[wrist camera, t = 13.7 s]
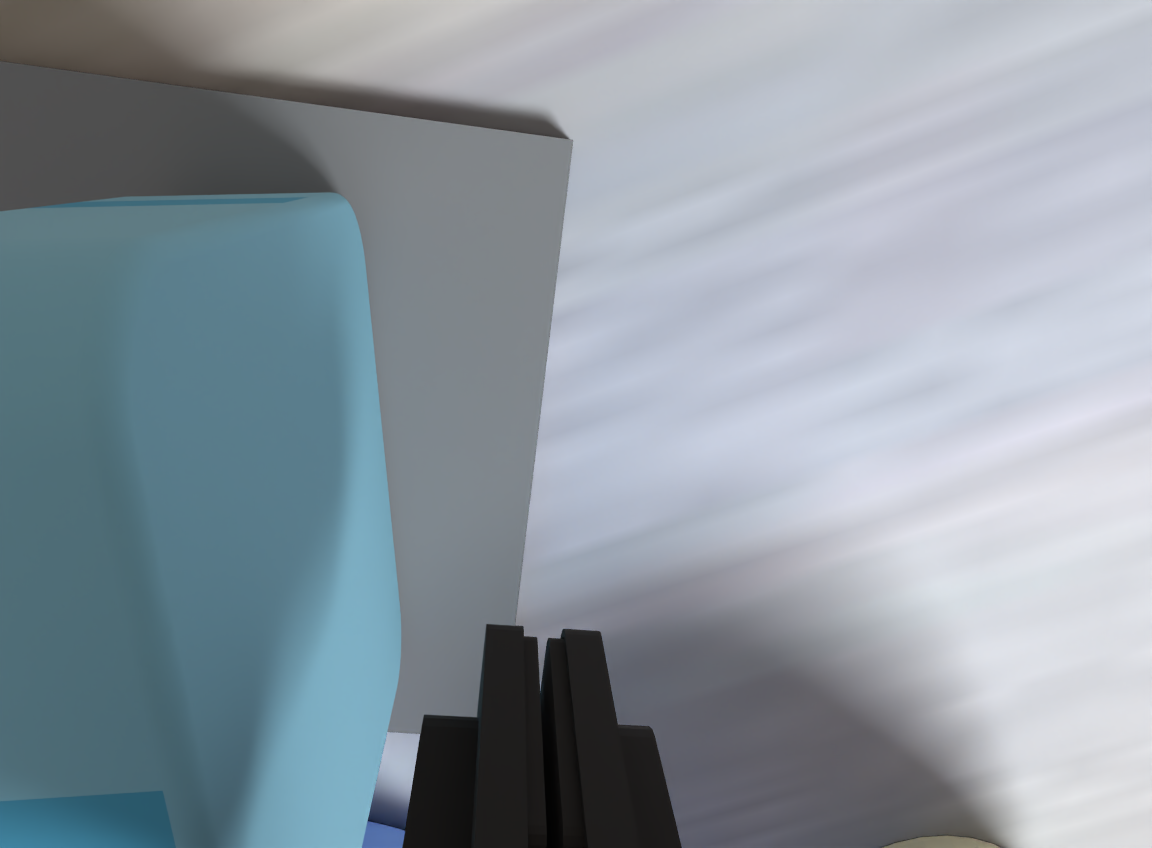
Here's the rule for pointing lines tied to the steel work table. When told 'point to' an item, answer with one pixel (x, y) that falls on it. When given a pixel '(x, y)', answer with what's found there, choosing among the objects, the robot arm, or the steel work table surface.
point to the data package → (191, 526)
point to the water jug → (382, 836)
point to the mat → (397, 305)
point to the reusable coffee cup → (942, 843)
